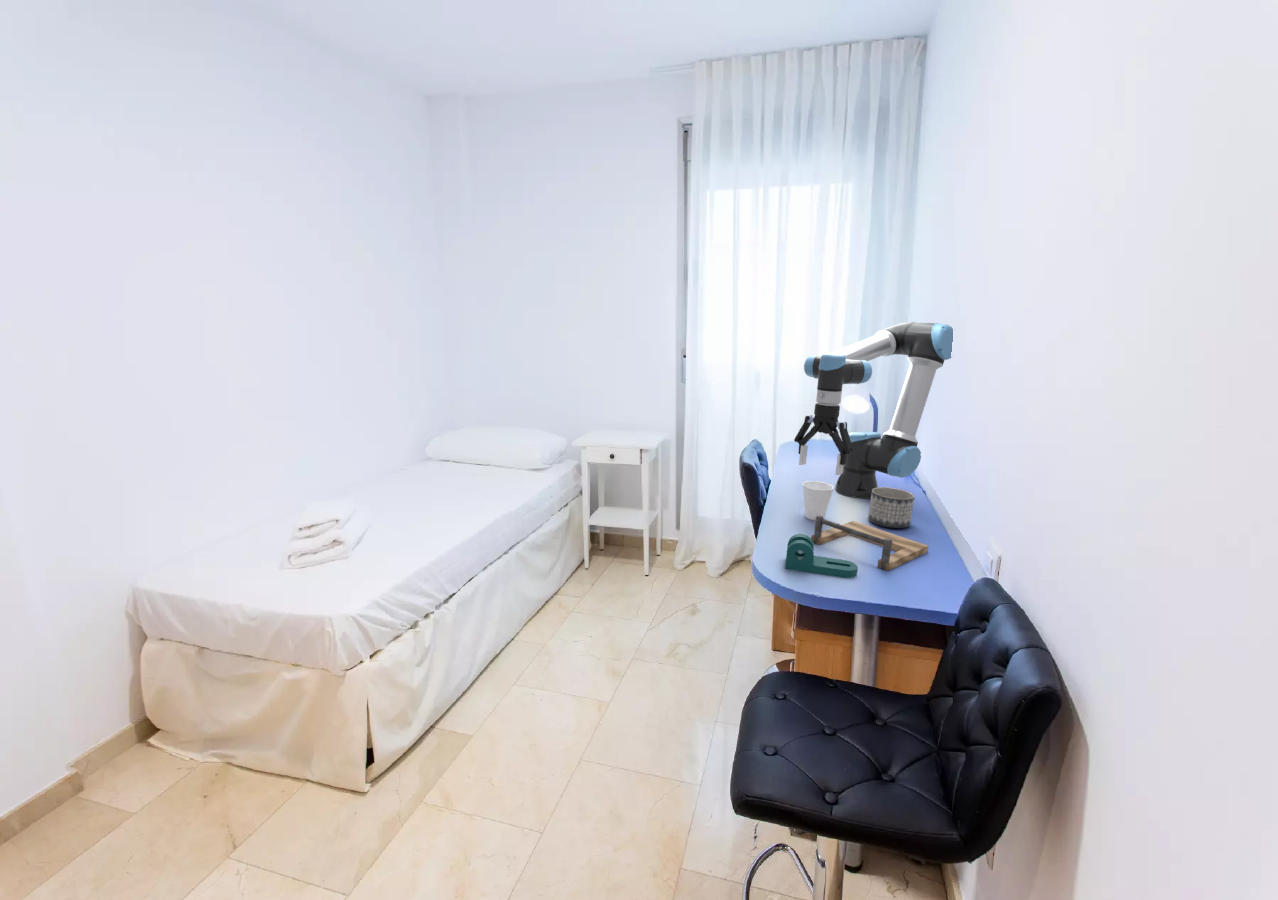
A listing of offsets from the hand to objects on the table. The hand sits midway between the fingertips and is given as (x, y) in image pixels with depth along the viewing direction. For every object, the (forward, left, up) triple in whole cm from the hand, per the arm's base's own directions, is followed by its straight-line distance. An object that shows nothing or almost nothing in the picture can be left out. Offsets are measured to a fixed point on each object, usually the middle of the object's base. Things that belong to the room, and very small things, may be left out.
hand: (820, 469), depth 193 cm
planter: (-16, +17, -17) cm, 29 cm away
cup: (0, 0, -17) cm, 17 cm away
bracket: (+33, +25, -17) cm, 44 cm away
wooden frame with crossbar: (+8, +24, -16) cm, 30 cm away
